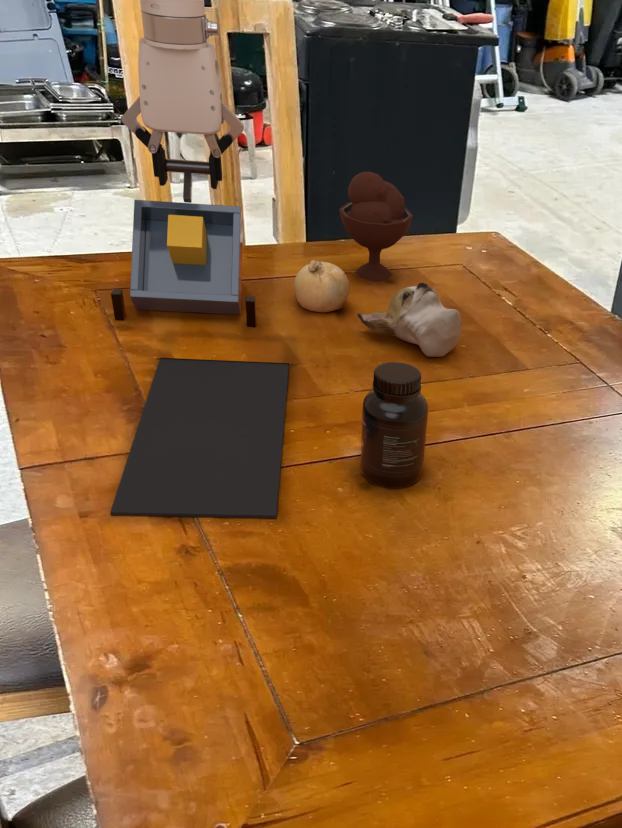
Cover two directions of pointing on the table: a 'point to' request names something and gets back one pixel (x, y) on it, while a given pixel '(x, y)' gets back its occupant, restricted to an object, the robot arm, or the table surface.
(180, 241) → the block
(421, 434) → the supplement bottle
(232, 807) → the table surface
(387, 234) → the ice cream bowl
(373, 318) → the ceramic sculpture
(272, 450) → the mat
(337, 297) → the onion
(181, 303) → the blue-grey tray
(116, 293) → the dark brown post pair
